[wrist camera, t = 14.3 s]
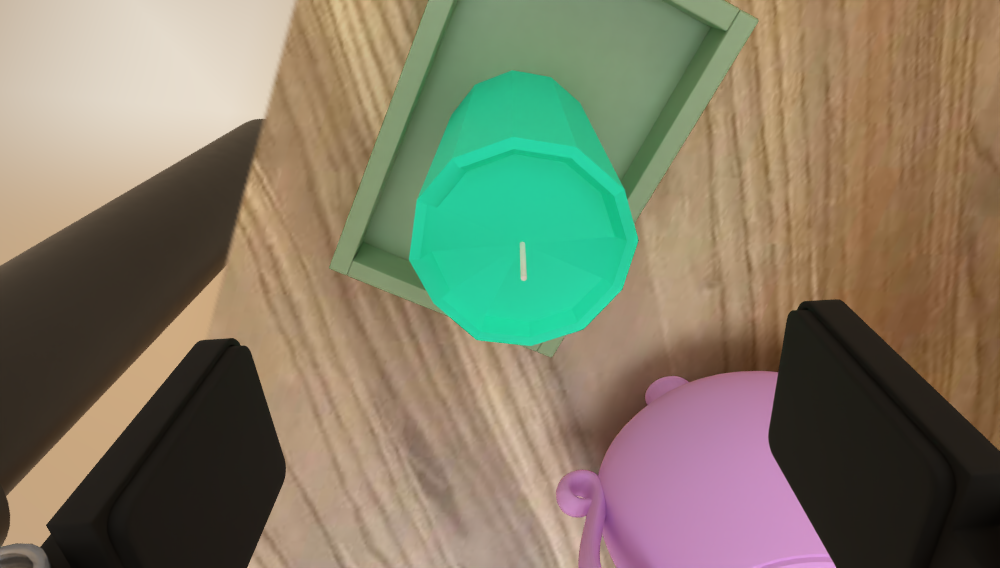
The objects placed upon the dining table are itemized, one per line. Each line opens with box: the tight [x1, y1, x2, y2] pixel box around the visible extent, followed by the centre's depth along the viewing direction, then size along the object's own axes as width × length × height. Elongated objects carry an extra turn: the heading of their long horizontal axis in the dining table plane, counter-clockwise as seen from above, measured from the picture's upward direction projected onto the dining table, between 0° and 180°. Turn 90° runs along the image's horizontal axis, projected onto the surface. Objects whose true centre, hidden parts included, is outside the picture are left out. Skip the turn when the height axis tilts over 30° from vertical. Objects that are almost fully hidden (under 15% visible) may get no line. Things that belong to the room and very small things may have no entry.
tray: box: [329, 0, 759, 358], centre depth 24 cm, size 11×16×3 cm
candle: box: [409, 70, 639, 346], centre depth 20 cm, size 6×6×12 cm
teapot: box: [556, 371, 836, 568], centre depth 28 cm, size 20×14×12 cm
